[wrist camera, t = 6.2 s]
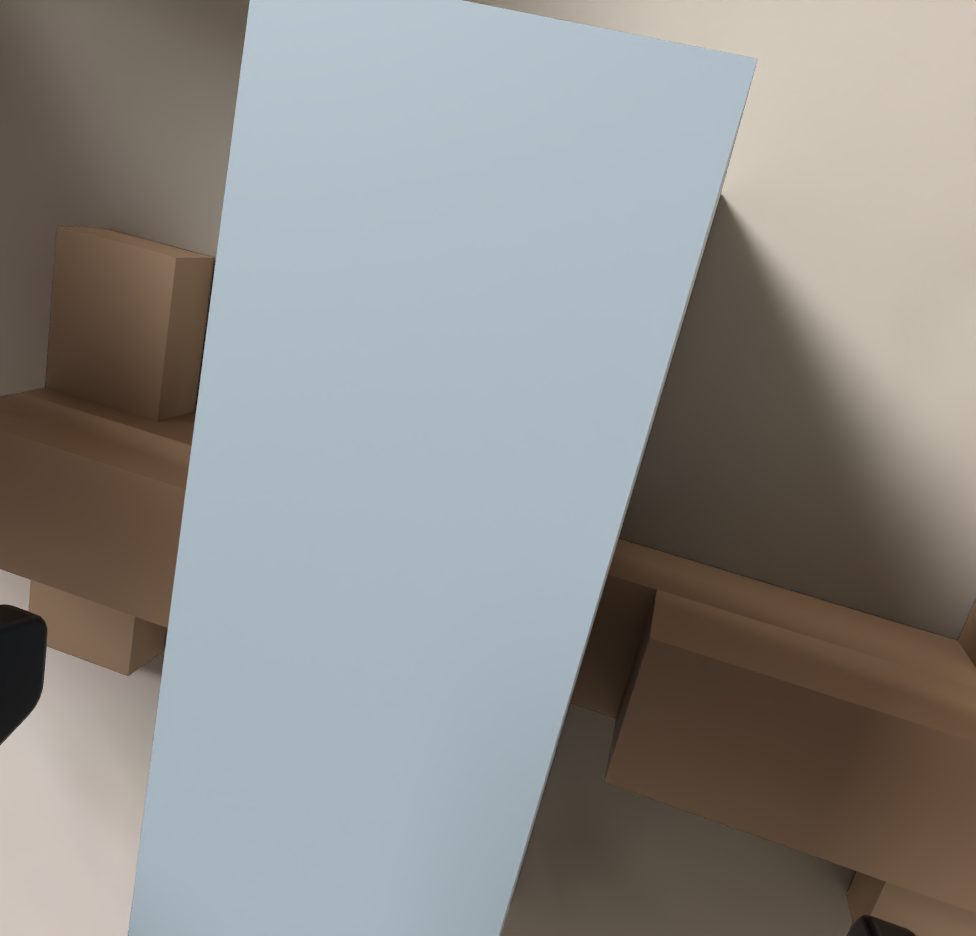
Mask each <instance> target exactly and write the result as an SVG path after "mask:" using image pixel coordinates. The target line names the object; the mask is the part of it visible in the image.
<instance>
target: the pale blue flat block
mask: <svg viewBox="0 0 976 936" xmlns="http://www.w3.org/2000/svg"><path fill="white" fill-rule="evenodd" d="M757 60H758V59H757V58H752V57H747V56H742V55H736V54H731V53H726V52H721V51H716V50H711V49H706V48H701V47H696V46H691V45H686V44H681V43H676V42H671V41H666V40H661V39H656V38H651V37H645V36H640V35H635V34H630V33H625V32H620V31H615V30H610V29H605V28H600V27H595V26H590V25H585V24H580V23H575V22H570V21H565V20H560V19H554V18H549V17H544V16H539V15H534V14H529V13H524V12H519V11H514V10H509V9H504V8H499V7H494V6H489V5H484V4H479V3H474V2H469V1H463V0H250V2H249V9H248V17H247V25H246V32H245V40H244V48H243V55H242V63H241V71H240V78H239V86H238V94H237V102H236V109H235V117H234V125H233V132H232V140H231V148H230V155H229V163H228V171H227V178H226V186H225V194H224V201H223V209H222V217H221V224H220V232H219V240H218V247H217V255H216V263H215V270H214V278H213V286H212V293H211V301H210V309H209V316H208V324H207V332H206V339H205V347H204V355H203V362H202V370H201V378H200V385H199V393H198V401H197V408H196V416H195V424H194V431H193V439H192V447H191V454H190V462H189V470H188V477H187V485H186V493H185V500H184V508H183V516H182V524H181V531H180V539H179V547H178V554H177V562H176V570H175V577H174V585H173V593H172V600H171V608H170V616H169V623H168V631H167V639H166V646H165V654H164V662H163V669H162V677H161V685H160V692H159V700H158V708H157V715H156V723H155V731H154V738H153V746H152V754H151V761H150V769H149V777H148V784H147V792H146V800H145V807H144V815H143V823H142V830H141V838H140V846H139V853H138V861H137V869H136V876H135V884H134V892H133V899H132V907H131V915H130V922H129V930H128V936H501V934H502V930H503V927H504V924H505V920H506V917H507V914H508V910H509V907H510V904H511V900H512V897H513V893H514V890H515V887H516V883H517V880H518V877H519V873H520V870H521V866H522V863H523V860H524V856H525V853H526V850H527V846H528V843H529V839H530V836H531V833H532V829H533V826H534V823H535V819H536V816H537V812H538V809H539V806H540V802H541V799H542V795H543V792H544V789H545V785H546V782H547V779H548V775H549V772H550V768H551V765H552V762H553V758H554V755H555V752H556V748H557V745H558V741H559V738H560V735H561V731H562V728H563V725H564V721H565V718H566V714H567V711H568V708H569V704H570V700H571V697H572V693H573V690H574V687H575V683H576V680H577V677H578V673H579V670H580V666H581V663H582V660H583V656H584V653H585V650H586V646H587V643H588V639H589V636H590V633H591V629H592V626H593V623H594V619H595V616H596V612H597V609H598V606H599V602H600V599H601V596H602V592H603V589H604V585H605V582H606V579H607V575H608V572H609V568H610V565H611V562H612V558H613V555H614V552H615V548H616V545H617V542H618V538H619V535H620V532H621V528H622V525H623V522H624V518H625V515H626V512H627V508H628V505H629V502H630V498H631V495H632V492H633V488H634V485H635V482H636V478H637V475H638V471H639V468H640V465H641V461H642V458H643V455H644V451H645V448H646V444H647V441H648V438H649V434H650V431H651V428H652V424H653V421H654V417H655V414H656V411H657V407H658V404H659V401H660V397H661V394H662V390H663V387H664V384H665V380H666V377H667V374H668V370H669V367H670V363H671V360H672V357H673V353H674V350H675V347H676V343H677V340H678V336H679V333H680V330H681V326H682V323H683V320H684V316H685V313H686V309H687V306H688V303H689V299H690V296H691V293H692V289H693V286H694V282H695V279H696V276H697V272H698V269H699V266H700V262H701V259H702V255H703V252H704V249H705V245H706V242H707V239H708V235H709V232H710V228H711V225H712V222H713V218H714V215H715V212H716V208H717V205H718V201H719V198H720V195H721V191H722V188H723V184H724V180H725V177H726V173H727V169H728V166H729V162H730V158H731V155H732V151H733V147H734V144H735V140H736V136H737V133H738V129H739V125H740V122H741V118H742V115H743V111H744V107H745V104H746V100H747V96H748V93H749V89H750V85H751V82H752V78H753V74H754V71H755V67H756V63H757Z"/></svg>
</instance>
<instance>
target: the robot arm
mask: <svg viewBox="0 0 976 936" xmlns="http://www.w3.org/2000/svg"><path fill="white" fill-rule="evenodd" d="M47 635H48V628H47V625H46V622H45V620H44V619H43V618H42V617H41V616H39V615H37V614H34V613H31V612H28V611H26V610H23V609H20V608H17V607H14V606H11V605H0V745H1V744H2V743H3V742H4V741H5V740H6V739H7V738H8V737H9V735H10V734H11V733H12V732H13V731H14V730H15V729H16V728H17V727H18V726H19V725H20V724H21V723H22V722H23V721H24V720H25V719H26V718H27V716H28V715H29V714H30V713H31V712H32V710H33V709H34V708H35V706H36V705H37V703H38V701H39V699H40V696H41V693H42V690H43V683H44V671H45V659H46V647H47ZM847 936H916V935H915V934H914V933H913V932H912V931H910V930H909V929H907V928H904V927H901V926H899V925H896V924H893V923H890V922H887V921H885V920H882V919H879V918H876V917H873V916H871V915H863V916H860V917H858V918H857V920H856V921H855V922H854V923H853V925H852V926H851V928H850V931H849V933H848V935H847Z"/></svg>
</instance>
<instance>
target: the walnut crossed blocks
mask: <svg viewBox="0 0 976 936" xmlns="http://www.w3.org/2000/svg"><path fill="white" fill-rule="evenodd" d="M213 262H214V257H210V256H207V255H203V254H199V253H195V252H191V251H188V250H184V249H180V248H176V247H173V246H169V245H165V244H161V243H157V242H154V241H150V240H146V239H142V238H139V237H135V236H131V235H127V234H124V233H120V232H116V231H112V230H108V229H105V228H95V227H74V226H57V231H56V245H55V259H54V272H53V286H52V300H51V313H50V327H49V340H48V354H47V368H46V381H45V388H41V389H36V390H31V391H26V392H21V393H16V394H11V395H6V396H1V397H0V569H2V570H5V571H8V572H11V573H13V574H16V575H19V576H22V577H25V578H28V579H30V580H31V586H30V600H29V612H31V613H34V614H37V615H39V616H41V617H42V618H43V619H44V620H45V622H46V625H47V628H48V635H47V646H48V647H50V648H53V649H56V650H59V651H61V652H64V653H67V654H69V655H72V656H75V657H78V658H80V659H83V660H86V661H88V662H91V663H94V664H97V665H99V666H102V667H105V668H108V669H110V670H113V671H116V672H118V673H121V674H124V675H127V676H129V675H130V674H132V673H133V672H134V671H136V670H137V669H139V668H140V667H141V666H143V665H144V664H145V663H147V662H148V661H149V660H151V659H152V658H154V657H155V656H156V655H158V654H159V653H160V652H162V651H163V650H164V646H165V638H166V630H167V628H168V623H169V616H170V608H171V600H172V593H173V585H174V577H175V570H176V562H177V554H178V547H179V539H180V531H181V524H182V516H183V508H184V500H185V493H186V485H187V477H188V470H189V462H190V454H191V447H192V439H193V431H194V424H195V416H196V411H195V403H196V395H197V387H198V379H199V372H200V364H201V356H202V348H203V340H204V333H205V325H206V317H207V309H208V301H209V293H210V286H211V278H212V270H213ZM570 703H572V704H575V705H578V706H581V707H584V708H587V709H590V710H593V711H596V712H599V713H602V714H605V715H608V716H611V717H613V718H616V722H615V728H614V733H613V738H612V744H611V749H610V754H609V759H608V765H607V770H606V775H605V781H604V782H605V783H608V784H611V785H614V786H617V787H619V788H622V789H625V790H628V791H631V792H634V793H636V794H639V795H642V796H645V797H648V798H651V799H653V800H656V801H659V802H662V803H665V804H668V805H670V806H673V807H676V808H679V809H682V810H685V811H687V812H690V813H693V814H696V815H699V816H702V817H704V818H707V819H710V820H713V821H716V822H719V823H721V824H724V825H727V826H730V827H733V828H736V829H738V830H741V831H744V832H747V833H750V834H753V835H755V836H758V837H761V838H764V839H767V840H770V841H772V842H775V843H778V844H781V845H784V846H787V847H789V848H792V849H795V850H798V851H801V852H804V853H806V854H809V855H812V856H815V857H818V858H821V859H823V860H826V861H829V862H832V863H835V864H838V865H840V866H843V867H846V868H849V869H852V870H855V871H857V872H856V874H855V876H854V879H853V881H852V883H851V885H850V888H849V890H848V892H847V899H848V904H849V908H850V913H851V917H852V922H853V923H854V922H855V921H856V920H857V918H858V917H860V916H863V915H871V916H873V917H876V918H879V919H882V920H885V921H887V922H890V923H893V924H896V925H899V926H901V927H904V928H907V929H909V930H910V931H912V932H913V933H914V934H915V935H916V936H976V601H975V603H974V605H973V607H972V610H971V612H970V614H969V616H968V619H967V621H966V623H965V626H964V628H963V630H962V632H961V635H960V637H959V639H958V641H957V640H953V639H950V638H947V637H943V636H940V635H937V634H933V633H930V632H927V631H923V630H920V629H917V628H914V627H910V626H907V625H904V624H900V623H897V622H894V621H890V620H887V619H884V618H880V617H877V616H874V615H870V614H867V613H864V612H860V611H857V610H854V609H850V608H847V607H844V606H840V605H837V604H834V603H831V602H827V601H824V600H821V599H817V598H814V597H811V596H807V595H804V594H801V593H797V592H794V591H791V590H787V589H784V588H781V587H777V586H774V585H771V584H767V583H764V582H761V581H758V580H754V579H751V578H748V577H744V576H741V575H738V574H734V573H731V572H728V571H724V570H721V569H718V568H714V567H711V566H708V565H704V564H701V563H698V562H694V561H691V560H688V559H685V558H681V557H678V556H675V555H671V554H668V553H665V552H661V551H658V550H655V549H651V548H648V547H645V546H641V545H638V544H635V543H631V542H628V541H625V540H621V539H618V542H617V545H616V548H615V552H614V555H613V558H612V562H611V565H610V568H609V572H608V575H607V579H606V582H605V585H604V589H603V592H602V596H601V599H600V602H599V606H598V609H597V612H596V616H595V619H594V623H593V626H592V629H591V633H590V636H589V639H588V643H587V646H586V650H585V653H584V656H583V660H582V663H581V666H580V670H579V673H578V677H577V680H576V683H575V687H574V690H573V693H572V697H571V700H570Z"/></svg>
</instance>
